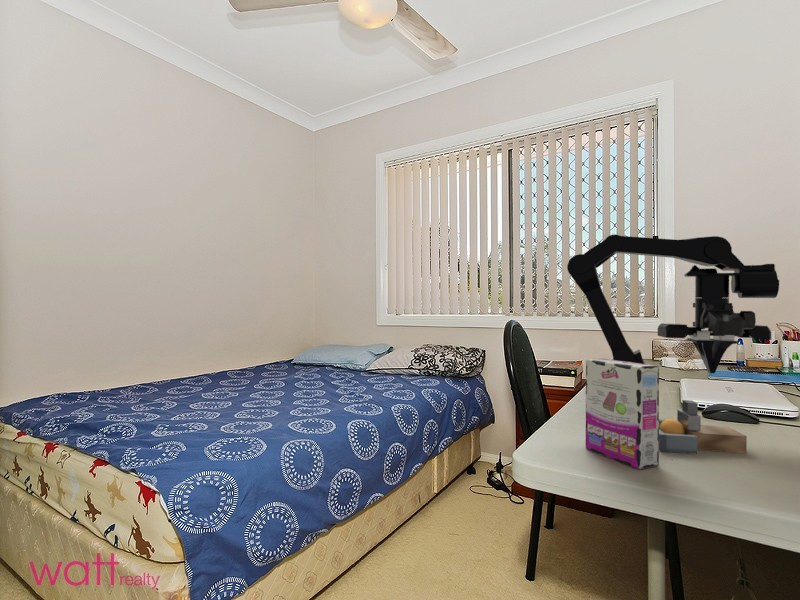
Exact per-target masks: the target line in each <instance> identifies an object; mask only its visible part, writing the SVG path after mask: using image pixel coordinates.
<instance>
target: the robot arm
mask: <svg viewBox="0 0 800 600" xmlns="http://www.w3.org/2000/svg"><path fill="white" fill-rule="evenodd" d="M732 251H733V249H732V245H731V243H730V242H729V241H728V239H726V238H725V237H722V236H718V235H716V236H715V235H714V236H703V237H702V236H701V237H700V236H699V237H693V238H685V239H670V238H659V237H658V238H655V237H644V236H643V237H641V236H627V235H620V234H611V235H608V236H607V237H606V238H605V239H604V240H602V241H601V242H599V243H598V244H596V245H594V246H593V247H592V248H590V249H589V250H587V251H585V253H583V254H581V253H580V254H576V255H574V256H572V257H571V258H570V260H569V261H568V263H567V267H566V268H567V272H568V274H569V275H570V277H571V278H572V280H574V282H575V284H576V285H577V286H578V288H579V289H580V290H581V291H582V293H583V294H584V296H585V297H586V300H587V302H588V303H589V305H590V308H591V311H592V312H593V314H594V317H595V319H596V321H597V323H598V326H599V328H600V330H601V331H602V334H603V336H604V338H605V340H606V342H607V344H608V346H609V348H610V351H611V354H612V358H613V359H612V360H617V361H625V362H632V363H640V364H646V365H648V364H647V363H646V362H645V361H644V360H643V356H642V352H641V349H637V350H635V351H634V350H633V349H632V348H631V347H630V345H629V344H628V342H627V340H626V338H625V336H624V334H623V331H622V329H621V327H620V325H619V323H618V321H617V319H616V317H615V315H614V313H613V310H612V308H611V307H610V304H609V302H608V300H607V299H606V296H605V294H604V292H603V290H602V287H601V286H602V285H601V281H600V278H599V273H598V270H597V269H598V268H599V267H601V266H602V265H603V264H604V263H606V262H607V261H608V260H610V258H612V257H613V256H614V255H616V254H625V255H636V256H637V255H638V256H648V257H660V258H661V257H662V258H672V259H677V260H680V261H684V262H688V263H691V264H694V265H692V267H691V268H690V269H689V270H688V271H687V272H686V273H684V277H687V278H694V279H695V283H694V285H695V290H694V293H695V294H694V295H695V296H694V297H695V298H694V299H695V300H694V302H692V308H694V312H695V313H694V321H692V326H688V325H687V324H684V323H683V324H682V323H664V322H663V323H660V324H659V325H658V327H657V337H661V338H667V339H685V338H686V337H687V338H686V340H687V342H688V341H689V342H691V343H692V344H693V346H694V347H695V349H696V351H697V352H698V353H699V356H700V358H701V360H702V362H703V364H704V367H705V369H706V371H707V373H708V374H715V373H716V371H717V369H718V367H719V365H720V362H721V360H722V358H723V356H724V354H725V353H726V351H727V350H728V349H729V347H731V346H732V345H735V344H738V343H739V341H738V340H735V337H738V338H740V339H741V338H745V339H747V338H748V339H749V338H751V339H752V340H753V341H772V330H771V329H770V328H769V326H767V325H759V324H756V323H757V322H756V313H755V311H754V312H753V311H752V310H740V312H735V311H734V305H733V303H732V302H730V290H731V293H732V294H737V297H738V298H739V299H775V298H777V296H778V294H779V291H780V279H778V273H777V271H776V264H775V263H765V264H760V265H759V264H756V265H755V264H751V265H749V264H748V265H747V264H746V265H745V264H744V263H743V262H742V261H741V260H740V259H739V258H738V256H736V255H735V254H734V253H733V252H732ZM697 265H699V266H703V267H709V268H700V267H698V266H697ZM710 267H712V268H710ZM713 267H715V268H713ZM718 269H719V270H720V271H723V272H718ZM727 271H729V272H727ZM731 271H732V272H731ZM730 277H731V282H730ZM688 336H689V337H688ZM711 337H712V338H711Z"/></svg>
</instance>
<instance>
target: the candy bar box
mask: <svg viewBox="0 0 800 600" xmlns="http://www.w3.org/2000/svg"><path fill="white" fill-rule="evenodd" d="M646 364H647V363H646ZM646 364H640V363H632V362H625V361H617V360H614V359H610V358H609V359H608V358H592V359H591V358H590V359H586V360H585V449H586V450H589V451H591V452H594V453H596V454H599V455H602V456H603V457H606V458H608V459H611V460H614V461H615V462H618V463H620V464H621V463H622V464H623V465H624V464H625V465H627V466H629V467H632V468H635V469H637V470H642V469H648V468H654V467H657V466H659V462H660V459H659V458H660V455H659V452H660V451H659V417H660V416H659V415H660V411H659V410H660V408H659V407H660V406H659V405H660V404H659V403H660V400H659V399H660V398H659V397H660V366H659V365H652V364H647V365H646Z"/></svg>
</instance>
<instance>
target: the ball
mask: <svg viewBox="0 0 800 600" xmlns="http://www.w3.org/2000/svg"><path fill="white" fill-rule="evenodd" d="M663 420H664V421H663V422H662V423H661V424H660V430H661V431H662V432H663V433H667V434H683V435H684V427H683V426H682V424H681V423H680V422H678V421H677V419H674V418H666V419H663Z"/></svg>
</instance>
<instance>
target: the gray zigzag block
mask: <svg viewBox="0 0 800 600" xmlns="http://www.w3.org/2000/svg"><path fill="white" fill-rule="evenodd" d="M681 404H682V405H681V406H682V407H681V408H682V409H676V410H677V411H676V412H677V413H676V414H677V418H676V420H677V421H678V422H680V423H681V424H682V426H683V427H684V428H686V429H687V430H696V431H701V425H702V422H701V419H702V418H701V416H700V415H699V414H698V409H699V408H698V403H697V402H695V401H694V400H689V399H688V400H686V399H682V402H681Z"/></svg>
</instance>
